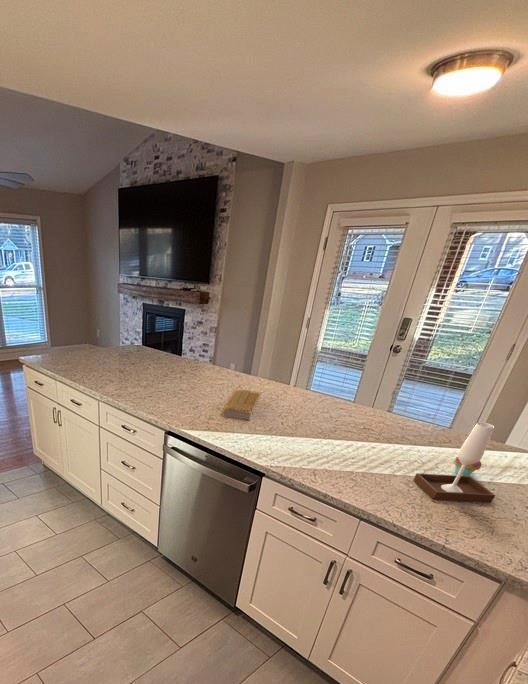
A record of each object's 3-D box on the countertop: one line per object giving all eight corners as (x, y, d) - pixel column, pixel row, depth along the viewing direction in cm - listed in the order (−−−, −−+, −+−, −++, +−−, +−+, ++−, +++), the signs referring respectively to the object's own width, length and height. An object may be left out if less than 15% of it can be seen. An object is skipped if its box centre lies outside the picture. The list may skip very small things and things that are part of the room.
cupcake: (453, 476, 156) (469, 447, 149) (445, 466, 163) (460, 438, 156) (479, 480, 154) (495, 450, 148) (470, 469, 161) (485, 441, 155)
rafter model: (233, 395, 228) (235, 384, 224) (260, 399, 224) (262, 388, 221) (221, 416, 200) (223, 403, 197) (251, 421, 196) (253, 408, 193)
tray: (466, 483, 152) (470, 476, 150) (491, 502, 140) (495, 495, 139) (413, 480, 152) (416, 473, 150) (433, 499, 141) (436, 492, 139)
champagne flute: (464, 489, 146) (499, 425, 133) (461, 496, 142) (496, 430, 128) (443, 482, 150) (475, 419, 136) (439, 489, 145) (471, 424, 132)
